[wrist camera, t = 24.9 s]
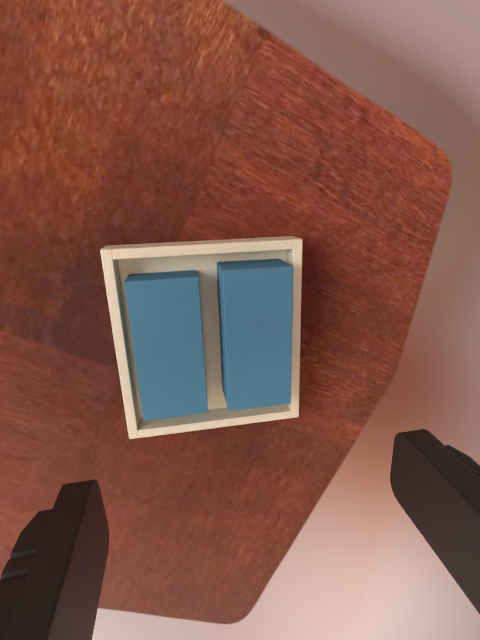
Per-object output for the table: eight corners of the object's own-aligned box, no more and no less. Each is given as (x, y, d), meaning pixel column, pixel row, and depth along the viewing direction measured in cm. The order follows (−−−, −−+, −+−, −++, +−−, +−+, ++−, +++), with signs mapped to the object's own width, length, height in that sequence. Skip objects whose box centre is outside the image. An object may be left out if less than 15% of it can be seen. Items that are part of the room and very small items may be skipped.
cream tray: (292, 235, 32) (302, 238, 29) (290, 402, 37) (298, 417, 34) (106, 245, 29) (99, 249, 27) (132, 422, 34) (129, 439, 32)
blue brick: (196, 269, 30) (198, 276, 28) (205, 395, 34) (208, 413, 31) (128, 273, 30) (124, 281, 27) (145, 402, 33) (143, 421, 31)
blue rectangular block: (279, 258, 31) (294, 266, 28) (278, 382, 35) (291, 404, 31) (216, 261, 31) (222, 270, 27) (222, 388, 34) (228, 411, 31)
